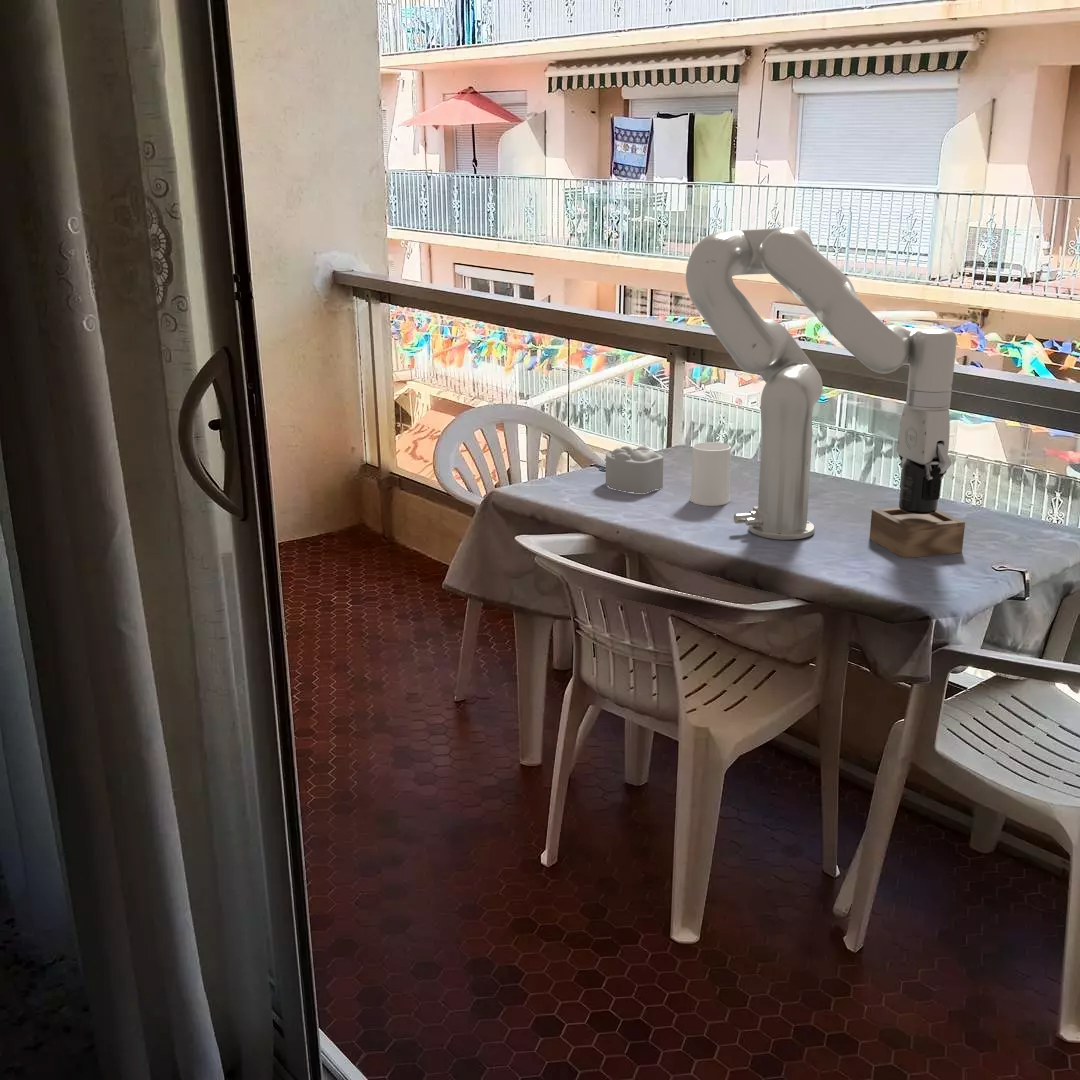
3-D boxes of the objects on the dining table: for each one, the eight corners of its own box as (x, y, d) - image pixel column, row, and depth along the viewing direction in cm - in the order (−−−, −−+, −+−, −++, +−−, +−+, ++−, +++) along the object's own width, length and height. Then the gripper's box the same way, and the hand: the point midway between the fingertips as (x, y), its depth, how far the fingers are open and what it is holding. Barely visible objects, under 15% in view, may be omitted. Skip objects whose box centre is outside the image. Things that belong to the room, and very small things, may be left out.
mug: (711, 490, 247) (713, 437, 243) (745, 496, 242) (747, 442, 238) (682, 501, 238) (683, 447, 235) (716, 508, 233) (718, 452, 229)
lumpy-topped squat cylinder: (640, 496, 243) (641, 457, 240) (594, 486, 251) (594, 449, 249) (668, 486, 250) (669, 449, 248) (622, 477, 259) (623, 440, 256)
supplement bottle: (939, 516, 202) (946, 451, 199) (900, 514, 204) (906, 450, 200) (934, 505, 209) (941, 443, 205) (896, 503, 210) (902, 442, 206)
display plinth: (903, 558, 201) (906, 527, 200) (869, 538, 213) (871, 509, 211) (961, 552, 204) (965, 522, 202) (925, 533, 215) (928, 504, 213)
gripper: (884, 391, 207) (876, 484, 213) (937, 409, 191) (927, 508, 196) (920, 389, 209) (911, 481, 214) (975, 406, 193) (964, 505, 198)
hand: (919, 493), depth 205 cm, fingers closed on supplement bottle, 6 cm apart
